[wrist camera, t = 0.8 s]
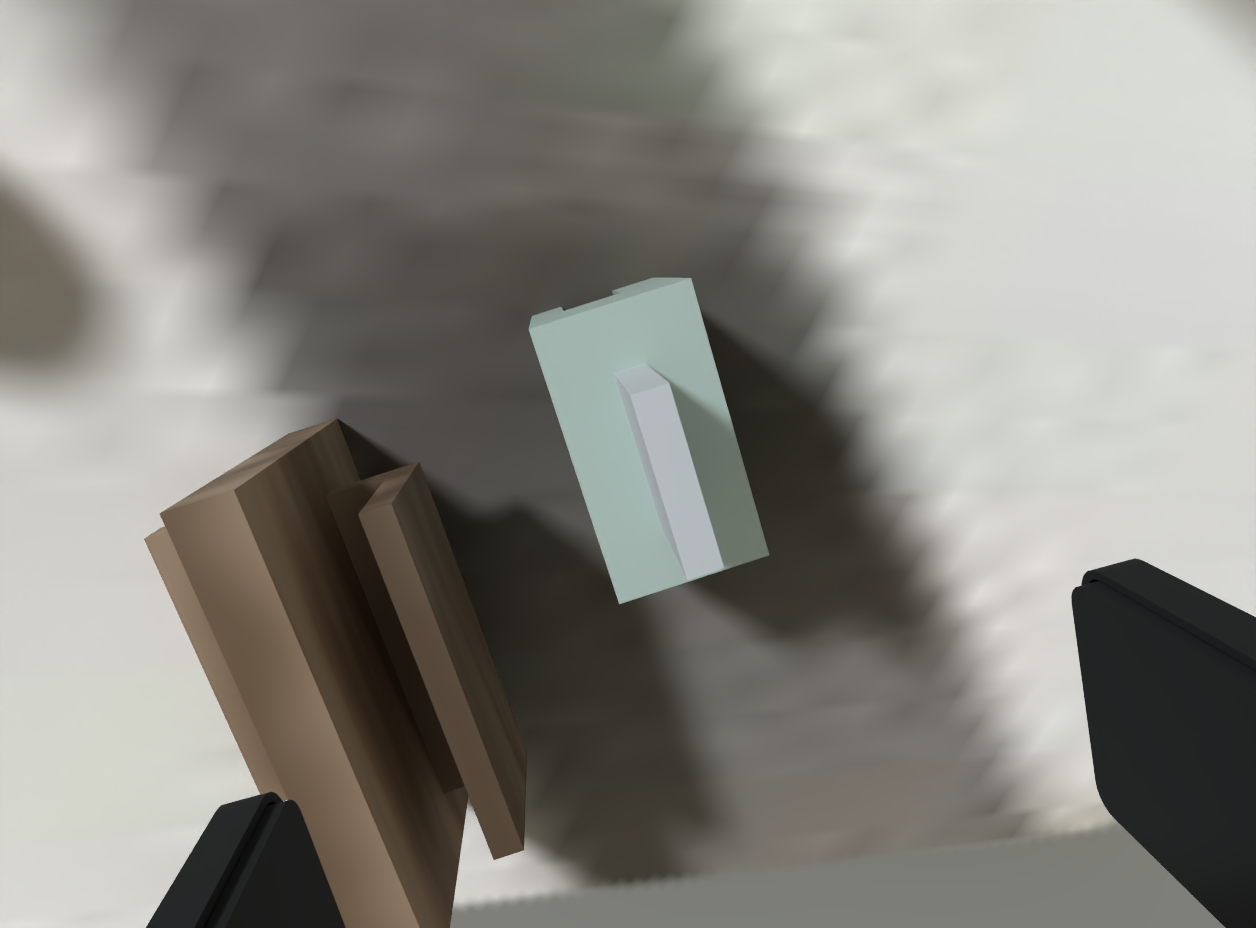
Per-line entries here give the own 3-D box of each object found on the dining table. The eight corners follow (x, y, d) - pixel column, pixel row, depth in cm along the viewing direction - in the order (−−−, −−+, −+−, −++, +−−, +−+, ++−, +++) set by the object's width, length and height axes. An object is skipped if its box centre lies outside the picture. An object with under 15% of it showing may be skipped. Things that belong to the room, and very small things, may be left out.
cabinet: (653, 277, 35) (725, 278, 21) (715, 489, 37) (816, 613, 23) (531, 316, 35) (525, 341, 21) (600, 526, 37) (635, 673, 23)
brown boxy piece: (415, 393, 35) (351, 452, 23) (543, 743, 39) (543, 946, 27) (139, 480, 35) (-66, 584, 23) (294, 825, 38) (185, 1067, 27)
